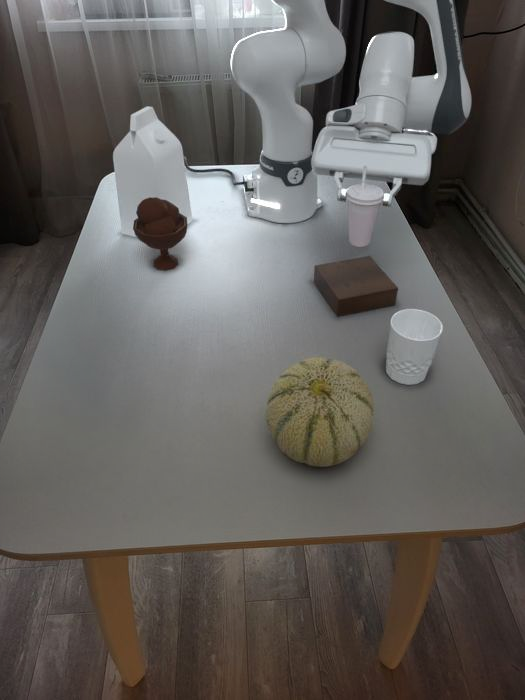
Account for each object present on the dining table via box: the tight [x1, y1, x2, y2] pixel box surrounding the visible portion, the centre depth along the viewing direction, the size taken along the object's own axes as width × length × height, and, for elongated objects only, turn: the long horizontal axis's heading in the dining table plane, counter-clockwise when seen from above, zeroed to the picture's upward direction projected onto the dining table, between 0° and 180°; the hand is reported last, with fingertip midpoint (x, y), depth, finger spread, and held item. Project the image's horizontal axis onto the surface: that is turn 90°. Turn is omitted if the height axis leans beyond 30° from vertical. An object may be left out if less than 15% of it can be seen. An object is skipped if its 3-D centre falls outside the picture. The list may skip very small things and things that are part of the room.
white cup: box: [385, 308, 444, 386], centre depth 89 cm, size 8×8×10 cm
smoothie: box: [346, 165, 385, 248], centre depth 96 cm, size 6×6×14 cm
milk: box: [112, 105, 194, 238], centre depth 120 cm, size 12×12×26 cm
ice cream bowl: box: [133, 197, 188, 271], centre depth 112 cm, size 11×11×15 cm
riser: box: [313, 255, 399, 318], centre depth 108 cm, size 12×12×4 cm
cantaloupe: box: [265, 356, 375, 468], centre depth 75 cm, size 15×15×15 cm
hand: (363, 202), depth 95 cm, fingers closed on smoothie, 6 cm apart
